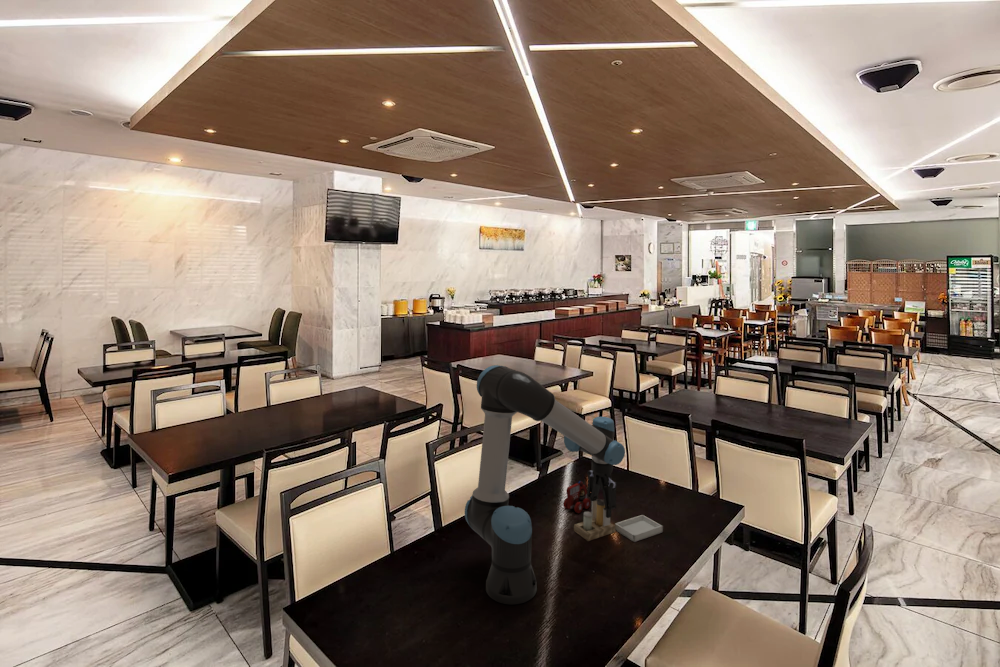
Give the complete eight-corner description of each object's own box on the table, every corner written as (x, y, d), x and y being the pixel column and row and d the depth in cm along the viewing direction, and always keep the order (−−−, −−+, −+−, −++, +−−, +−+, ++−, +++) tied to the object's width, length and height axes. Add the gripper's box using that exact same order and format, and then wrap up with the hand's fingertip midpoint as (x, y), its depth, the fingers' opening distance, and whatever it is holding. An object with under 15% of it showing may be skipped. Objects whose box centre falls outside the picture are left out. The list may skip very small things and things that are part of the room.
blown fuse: (599, 532, 187) (600, 503, 186) (594, 529, 190) (595, 500, 188) (606, 530, 189) (607, 501, 187) (600, 527, 191) (601, 498, 190)
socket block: (588, 541, 181) (588, 534, 181) (573, 531, 188) (574, 524, 188) (615, 532, 188) (615, 525, 187) (600, 522, 194) (600, 516, 194)
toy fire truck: (593, 505, 208) (594, 481, 207) (574, 516, 200) (575, 490, 198) (579, 500, 213) (579, 476, 212) (560, 510, 205) (561, 485, 203)
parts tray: (634, 542, 181) (634, 535, 180) (614, 529, 189) (614, 523, 189) (662, 532, 188) (662, 525, 187) (642, 520, 196) (642, 514, 196)
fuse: (586, 536, 184) (587, 516, 183) (581, 533, 187) (582, 512, 186) (593, 534, 186) (593, 514, 185) (588, 531, 188) (588, 510, 187)
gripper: (628, 466, 180) (626, 529, 183) (593, 450, 196) (591, 508, 199) (612, 471, 176) (610, 535, 179) (577, 453, 192) (576, 513, 195)
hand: (600, 521), depth 189 cm, fingers open, 6 cm apart
